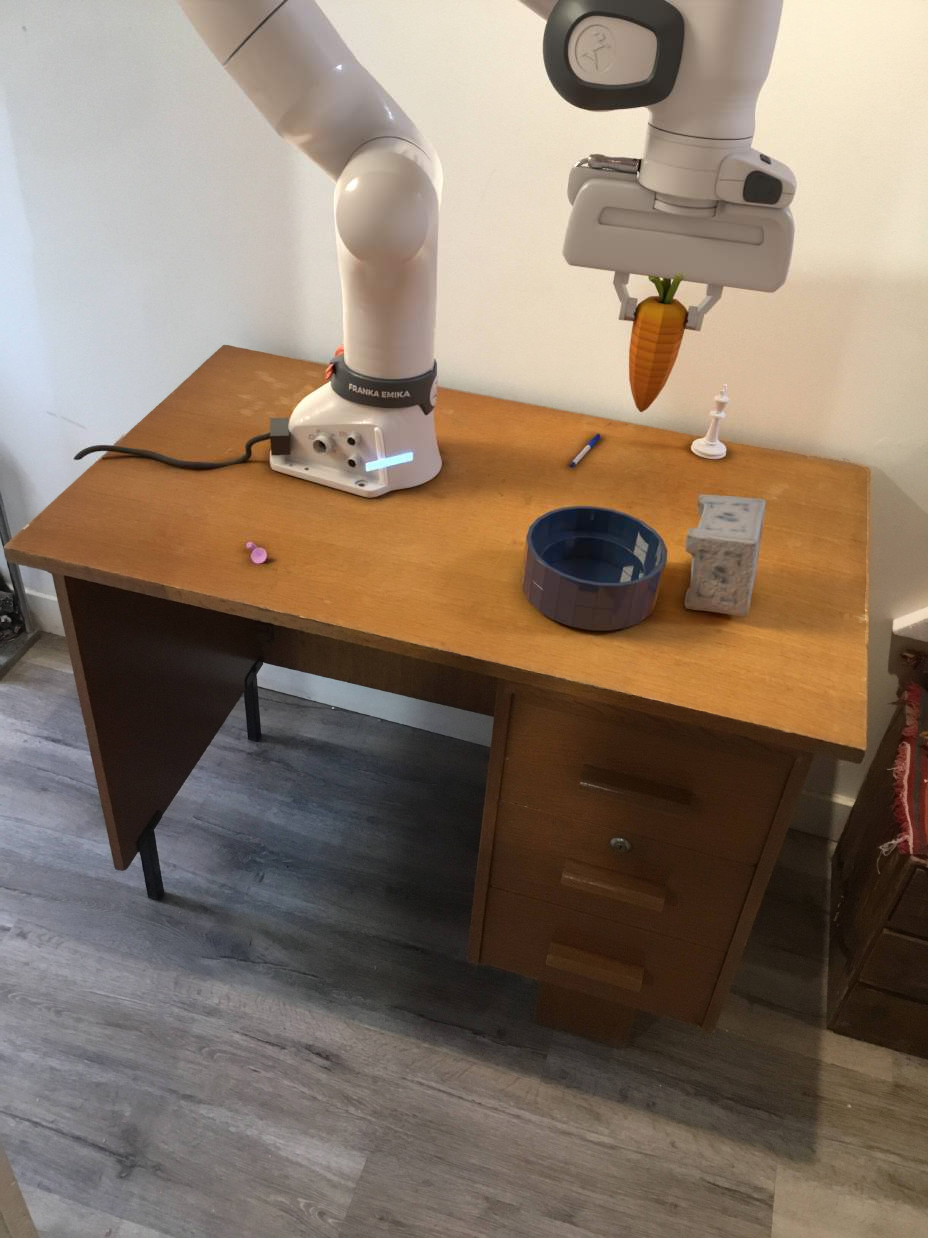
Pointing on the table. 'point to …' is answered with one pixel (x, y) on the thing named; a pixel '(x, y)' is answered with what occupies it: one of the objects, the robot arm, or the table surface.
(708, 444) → the chess piece
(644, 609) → the blue pet bowl
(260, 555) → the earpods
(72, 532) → the table surface
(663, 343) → the carrot
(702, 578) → the incense holder
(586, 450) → the ballpoint pen
